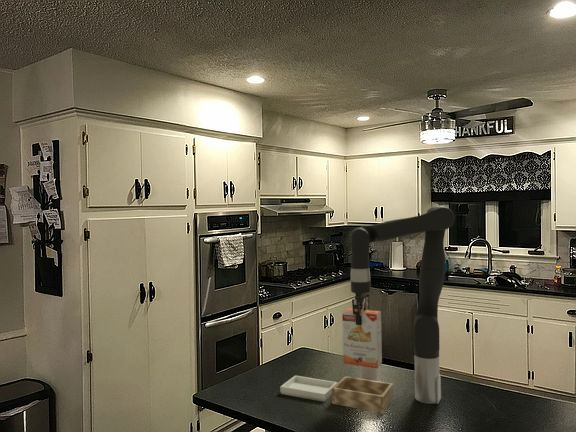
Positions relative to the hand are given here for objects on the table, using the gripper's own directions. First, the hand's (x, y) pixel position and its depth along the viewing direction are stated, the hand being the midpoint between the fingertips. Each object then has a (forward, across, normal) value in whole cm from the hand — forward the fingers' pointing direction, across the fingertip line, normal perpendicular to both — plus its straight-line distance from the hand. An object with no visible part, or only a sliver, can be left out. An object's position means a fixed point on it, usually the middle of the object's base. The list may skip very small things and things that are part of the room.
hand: (361, 322), depth 182 cm
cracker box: (+16, 0, 0) cm, 16 cm away
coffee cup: (+31, +20, +4) cm, 37 cm away
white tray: (+30, 0, +23) cm, 38 cm away
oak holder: (+31, 0, 0) cm, 31 cm away
